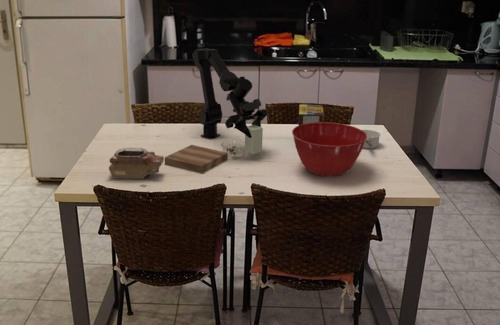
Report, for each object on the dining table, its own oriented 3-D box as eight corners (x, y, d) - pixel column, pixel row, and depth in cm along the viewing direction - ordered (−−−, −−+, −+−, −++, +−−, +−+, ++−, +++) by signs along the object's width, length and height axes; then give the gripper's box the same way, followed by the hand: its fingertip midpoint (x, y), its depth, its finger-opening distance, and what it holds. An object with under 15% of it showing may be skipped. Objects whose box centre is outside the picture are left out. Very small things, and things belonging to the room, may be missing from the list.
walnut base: (191, 151, 246) (191, 144, 245) (227, 159, 238) (227, 152, 237) (164, 164, 232) (164, 157, 231) (201, 173, 223) (201, 166, 222)
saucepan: (355, 156, 243) (356, 143, 241) (351, 141, 262) (352, 129, 260) (383, 157, 242) (384, 144, 240) (377, 142, 261) (378, 130, 259)
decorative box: (119, 167, 229) (117, 143, 225) (169, 170, 226) (168, 146, 223) (107, 180, 217) (105, 155, 213) (159, 183, 214) (158, 158, 211)
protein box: (321, 138, 265) (323, 104, 260) (321, 149, 251) (323, 114, 245) (297, 137, 266) (299, 104, 260) (297, 148, 252) (298, 113, 246)
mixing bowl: (374, 166, 233) (377, 129, 227) (347, 190, 210) (350, 150, 204) (309, 153, 246) (311, 117, 241) (277, 174, 223) (278, 136, 218)
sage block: (244, 150, 239) (245, 126, 235) (254, 147, 242) (254, 124, 238) (252, 153, 235) (253, 130, 231) (262, 151, 238) (262, 127, 234)
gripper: (229, 96, 227) (246, 130, 223) (266, 89, 238) (283, 122, 234) (217, 111, 236) (234, 144, 232) (253, 104, 247) (269, 135, 243)
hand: (255, 136), depth 235 cm, fingers closed on sage block, 5 cm apart
